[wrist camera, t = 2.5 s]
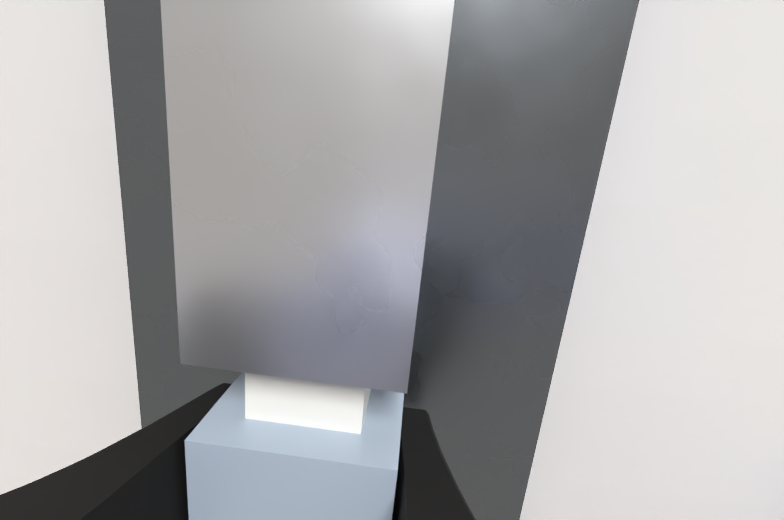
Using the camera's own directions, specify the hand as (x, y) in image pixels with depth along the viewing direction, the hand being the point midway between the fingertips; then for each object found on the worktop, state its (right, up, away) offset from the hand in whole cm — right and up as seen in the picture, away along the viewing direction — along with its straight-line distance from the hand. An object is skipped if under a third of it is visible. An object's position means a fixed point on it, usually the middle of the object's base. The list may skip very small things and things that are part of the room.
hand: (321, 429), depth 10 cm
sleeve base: (0, 0, +2) cm, 2 cm away
